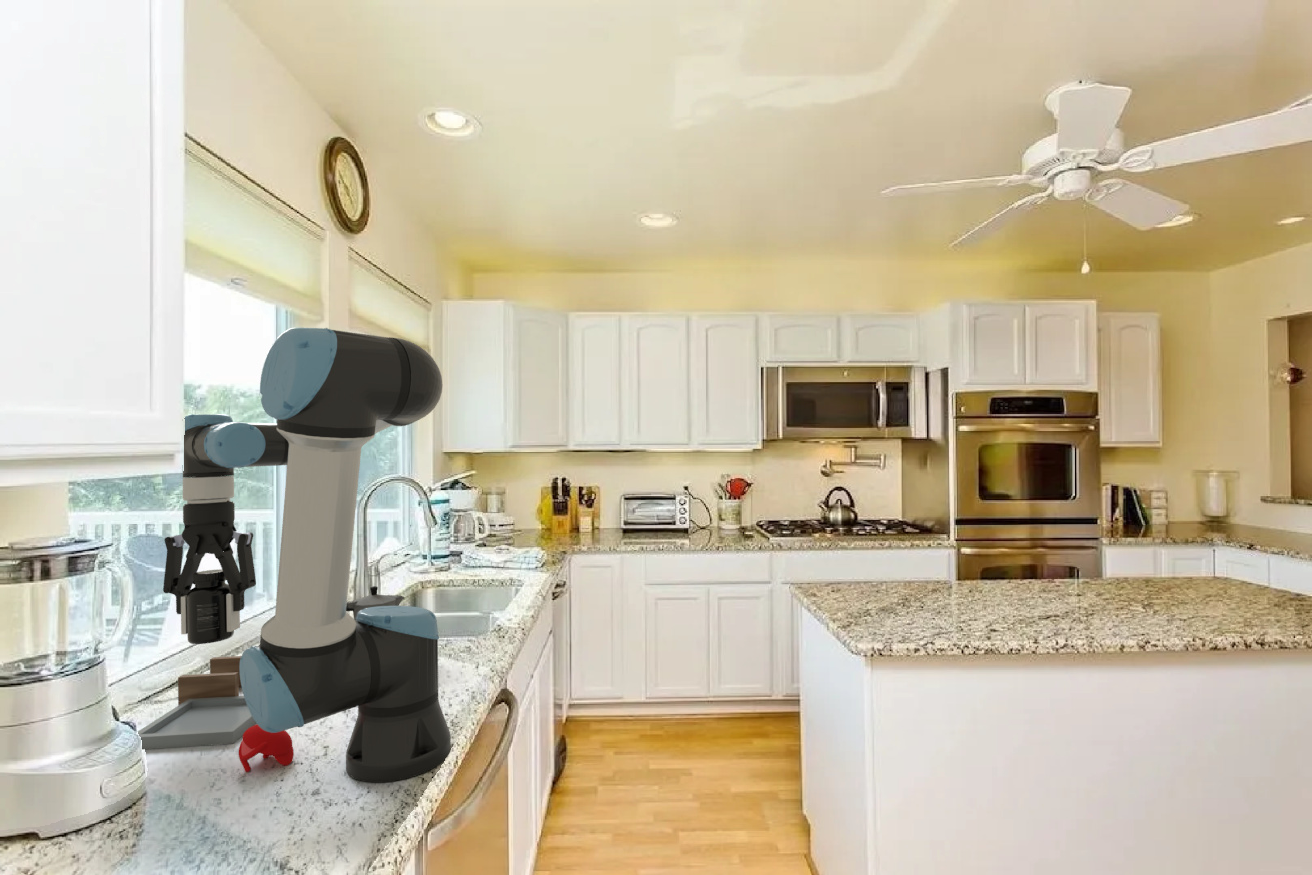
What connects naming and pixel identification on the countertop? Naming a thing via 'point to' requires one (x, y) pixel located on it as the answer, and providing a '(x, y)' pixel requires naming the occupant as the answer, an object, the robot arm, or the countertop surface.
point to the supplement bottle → (208, 608)
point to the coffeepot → (373, 601)
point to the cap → (265, 746)
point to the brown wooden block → (212, 680)
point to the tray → (199, 723)
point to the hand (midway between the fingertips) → (211, 630)
